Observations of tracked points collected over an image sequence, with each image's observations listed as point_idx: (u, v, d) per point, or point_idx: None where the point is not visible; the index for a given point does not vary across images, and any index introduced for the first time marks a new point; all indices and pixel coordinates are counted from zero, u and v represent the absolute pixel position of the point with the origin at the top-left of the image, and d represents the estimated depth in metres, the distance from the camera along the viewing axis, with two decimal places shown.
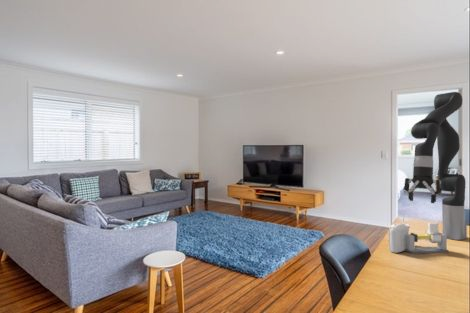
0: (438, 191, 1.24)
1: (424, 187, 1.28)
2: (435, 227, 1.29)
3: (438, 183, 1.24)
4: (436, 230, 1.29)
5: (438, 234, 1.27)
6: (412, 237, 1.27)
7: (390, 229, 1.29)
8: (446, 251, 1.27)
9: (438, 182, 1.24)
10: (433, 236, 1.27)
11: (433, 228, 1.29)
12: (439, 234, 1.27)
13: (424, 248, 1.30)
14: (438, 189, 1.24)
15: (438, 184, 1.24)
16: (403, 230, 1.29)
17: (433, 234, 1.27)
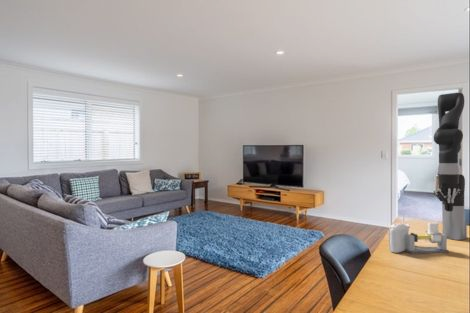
0: (456, 199, 1.29)
1: None
2: (435, 227, 1.29)
3: (461, 194, 1.29)
4: (436, 230, 1.29)
5: (438, 234, 1.27)
6: (412, 237, 1.27)
7: (390, 229, 1.29)
8: (446, 251, 1.27)
9: (462, 193, 1.29)
10: (433, 236, 1.27)
11: (433, 228, 1.29)
12: (439, 234, 1.27)
13: (424, 248, 1.30)
14: (458, 198, 1.29)
15: (461, 194, 1.29)
16: (403, 230, 1.29)
17: (433, 234, 1.27)
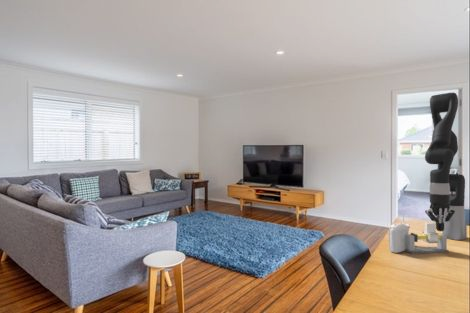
0: (447, 219, 1.28)
1: None
2: (432, 227, 1.29)
3: (452, 213, 1.29)
4: (433, 230, 1.29)
5: (435, 234, 1.27)
6: (412, 237, 1.27)
7: (390, 229, 1.29)
8: (446, 251, 1.27)
9: (453, 213, 1.29)
10: (430, 236, 1.27)
11: (430, 228, 1.29)
12: (436, 234, 1.27)
13: (424, 248, 1.30)
14: (449, 218, 1.29)
15: (452, 214, 1.29)
16: (403, 230, 1.29)
17: (430, 234, 1.27)
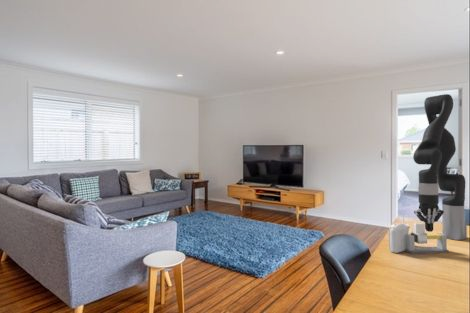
0: (436, 219, 1.28)
1: None
2: (421, 227, 1.28)
3: (441, 213, 1.28)
4: (422, 230, 1.29)
5: (424, 234, 1.27)
6: (412, 237, 1.27)
7: (390, 229, 1.29)
8: (446, 251, 1.27)
9: (442, 213, 1.28)
10: (419, 236, 1.27)
11: (419, 228, 1.28)
12: (425, 234, 1.27)
13: (424, 248, 1.30)
14: (438, 218, 1.28)
15: (441, 214, 1.28)
16: (403, 230, 1.29)
17: (419, 234, 1.27)
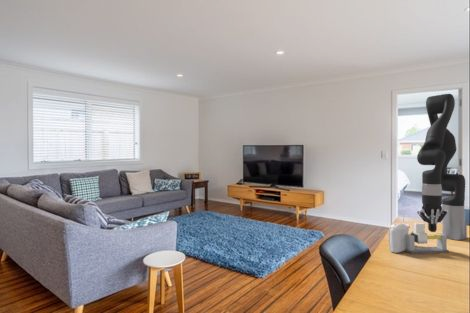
0: (440, 220, 1.29)
1: None
2: (421, 227, 1.28)
3: (445, 214, 1.29)
4: (422, 230, 1.29)
5: (424, 234, 1.27)
6: (412, 237, 1.27)
7: (390, 229, 1.29)
8: (446, 251, 1.27)
9: (445, 213, 1.29)
10: (419, 236, 1.27)
11: (419, 228, 1.28)
12: (425, 234, 1.27)
13: (424, 248, 1.30)
14: (441, 219, 1.29)
15: (444, 215, 1.29)
16: (403, 230, 1.29)
17: (419, 234, 1.27)
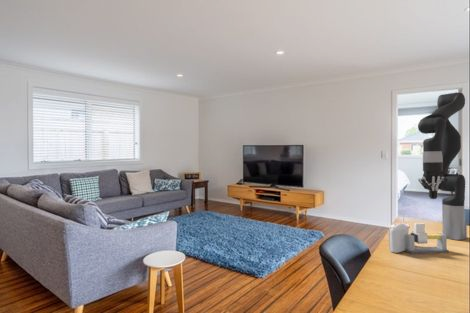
0: (440, 187, 1.31)
1: None
2: (421, 227, 1.28)
3: (445, 181, 1.31)
4: (422, 230, 1.29)
5: (424, 234, 1.27)
6: (412, 237, 1.27)
7: (390, 229, 1.29)
8: (446, 251, 1.27)
9: (446, 180, 1.31)
10: (419, 236, 1.27)
11: (419, 228, 1.28)
12: (425, 234, 1.27)
13: (424, 248, 1.30)
14: (442, 186, 1.31)
15: (444, 182, 1.31)
16: (403, 230, 1.29)
17: (419, 234, 1.27)
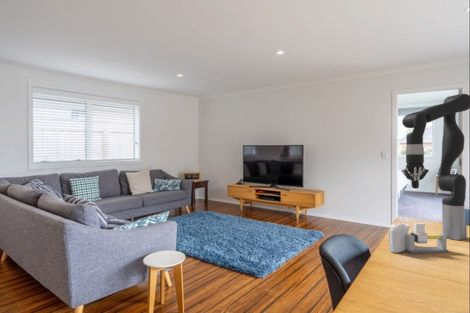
0: (422, 177, 1.41)
1: None
2: (421, 227, 1.28)
3: (426, 172, 1.42)
4: (422, 230, 1.29)
5: (424, 234, 1.27)
6: (412, 237, 1.27)
7: (390, 229, 1.29)
8: (446, 251, 1.27)
9: (427, 171, 1.42)
10: (419, 236, 1.27)
11: (419, 228, 1.28)
12: (425, 234, 1.27)
13: (424, 248, 1.30)
14: (423, 176, 1.41)
15: (426, 173, 1.42)
16: (403, 230, 1.29)
17: (419, 234, 1.27)
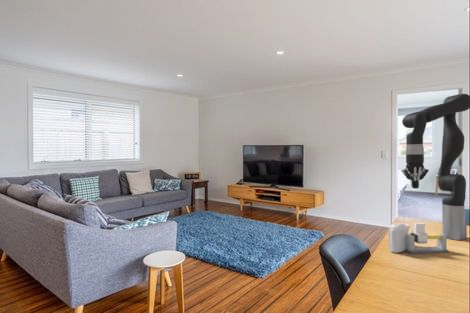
0: (422, 177, 1.41)
1: None
2: (421, 227, 1.28)
3: (426, 172, 1.42)
4: (422, 230, 1.29)
5: (424, 234, 1.27)
6: (412, 237, 1.27)
7: (390, 229, 1.29)
8: (446, 251, 1.27)
9: (427, 171, 1.42)
10: (419, 236, 1.27)
11: (419, 228, 1.28)
12: (425, 234, 1.27)
13: (424, 248, 1.30)
14: (423, 176, 1.41)
15: (426, 173, 1.42)
16: (403, 230, 1.29)
17: (419, 234, 1.27)
